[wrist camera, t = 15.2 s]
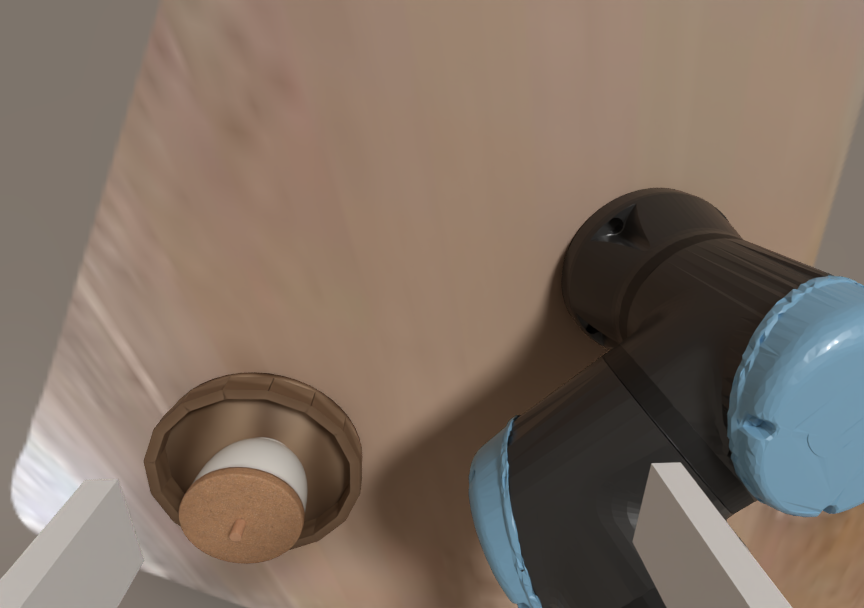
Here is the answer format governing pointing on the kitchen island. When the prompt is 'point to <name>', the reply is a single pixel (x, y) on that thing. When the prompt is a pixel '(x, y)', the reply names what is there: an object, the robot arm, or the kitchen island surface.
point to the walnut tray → (260, 417)
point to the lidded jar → (246, 502)
